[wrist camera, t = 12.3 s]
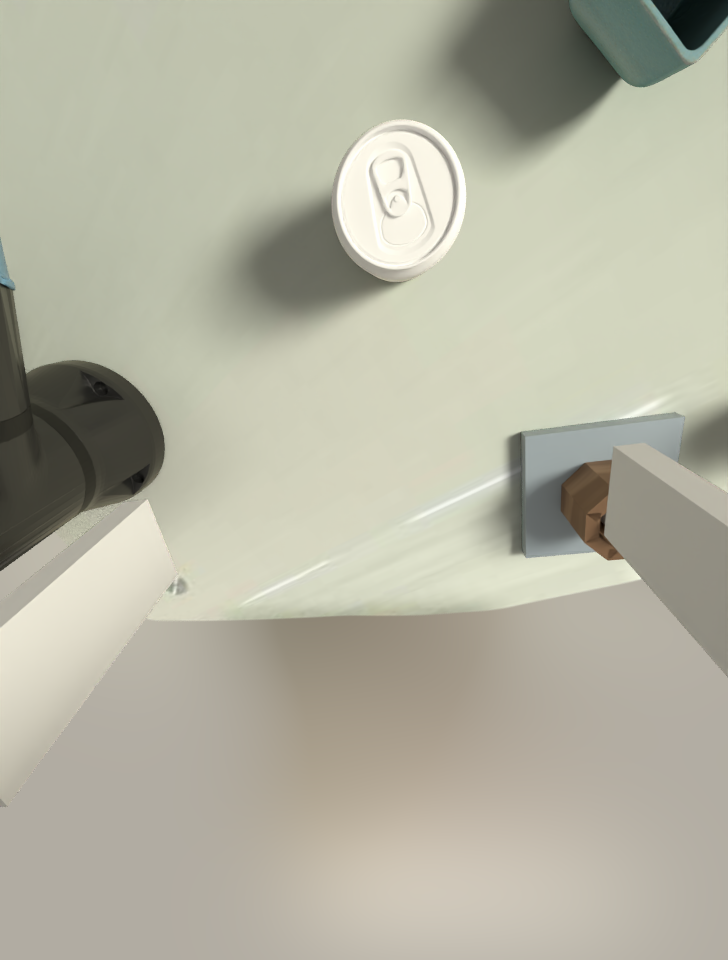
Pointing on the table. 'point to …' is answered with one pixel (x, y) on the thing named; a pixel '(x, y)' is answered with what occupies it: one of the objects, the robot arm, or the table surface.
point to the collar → (589, 505)
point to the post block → (564, 453)
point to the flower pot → (651, 34)
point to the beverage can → (398, 199)
